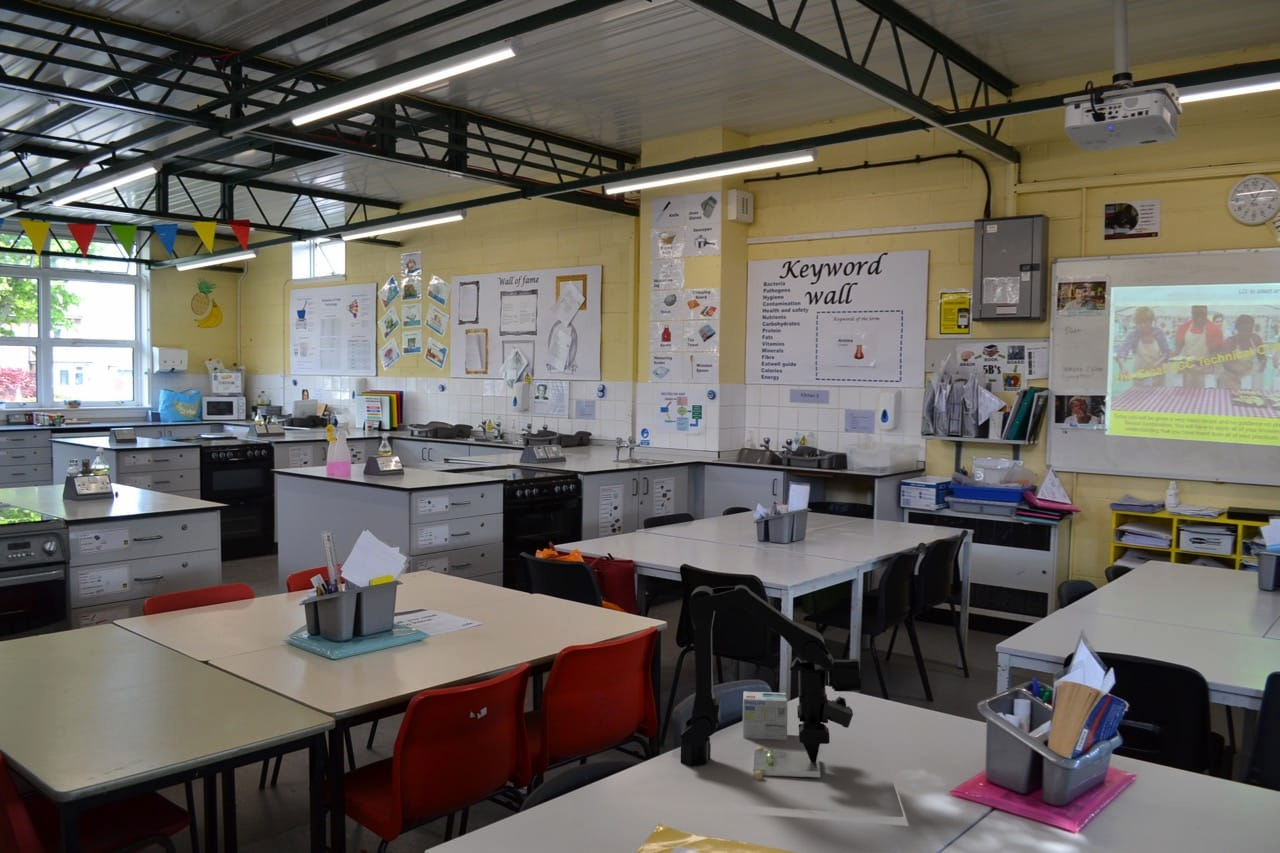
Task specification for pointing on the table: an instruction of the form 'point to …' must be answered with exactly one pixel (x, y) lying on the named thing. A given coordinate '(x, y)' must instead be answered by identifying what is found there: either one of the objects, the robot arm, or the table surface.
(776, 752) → the level plate
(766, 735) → the light bulb box
